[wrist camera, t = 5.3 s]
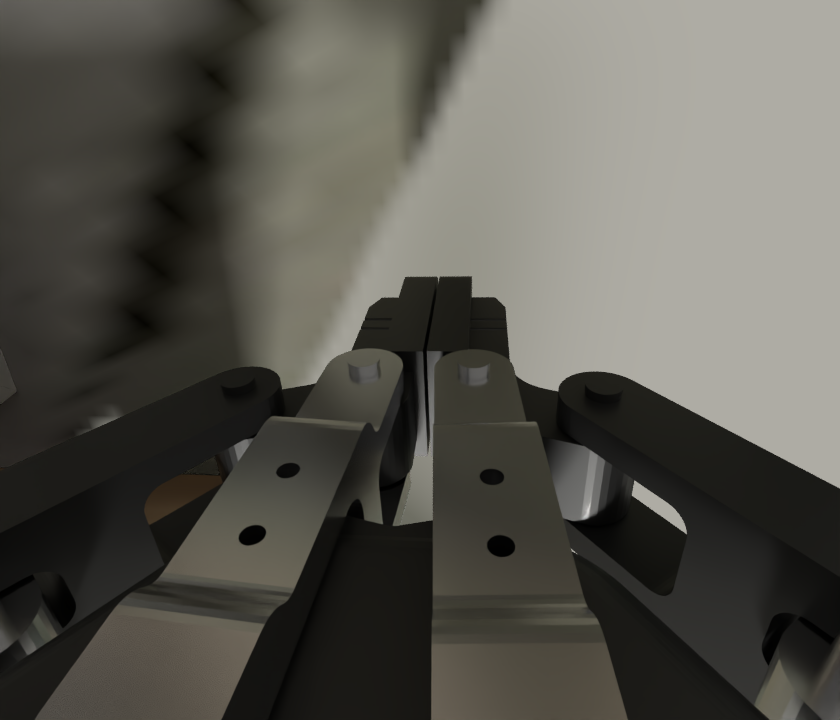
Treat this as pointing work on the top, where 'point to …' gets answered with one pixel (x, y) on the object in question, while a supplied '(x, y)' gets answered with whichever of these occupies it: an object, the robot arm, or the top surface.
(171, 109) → the top surface
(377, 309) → the robot arm
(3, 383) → the picture frame
